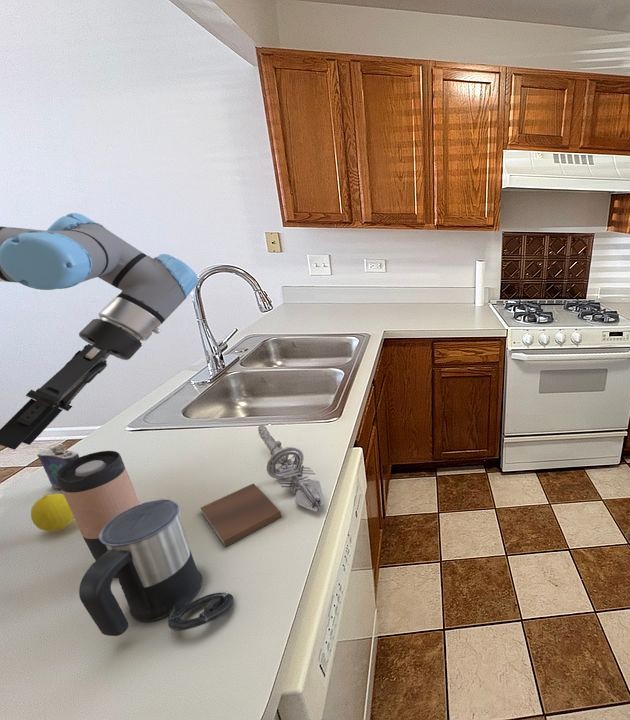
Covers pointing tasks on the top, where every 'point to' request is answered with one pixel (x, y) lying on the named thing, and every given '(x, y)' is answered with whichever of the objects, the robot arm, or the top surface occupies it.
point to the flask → (55, 462)
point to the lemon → (51, 512)
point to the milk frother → (147, 572)
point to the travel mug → (96, 494)
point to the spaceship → (292, 472)
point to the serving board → (240, 514)
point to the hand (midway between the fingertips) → (11, 443)
